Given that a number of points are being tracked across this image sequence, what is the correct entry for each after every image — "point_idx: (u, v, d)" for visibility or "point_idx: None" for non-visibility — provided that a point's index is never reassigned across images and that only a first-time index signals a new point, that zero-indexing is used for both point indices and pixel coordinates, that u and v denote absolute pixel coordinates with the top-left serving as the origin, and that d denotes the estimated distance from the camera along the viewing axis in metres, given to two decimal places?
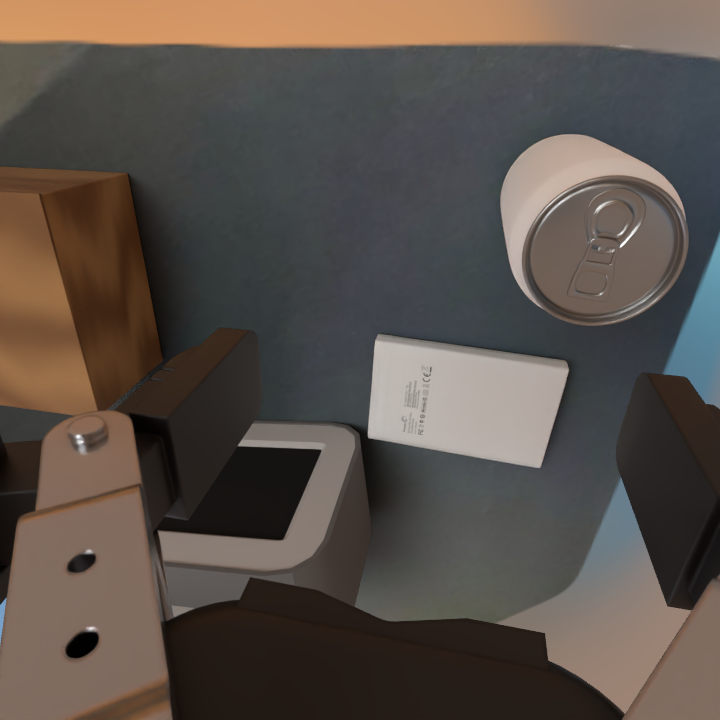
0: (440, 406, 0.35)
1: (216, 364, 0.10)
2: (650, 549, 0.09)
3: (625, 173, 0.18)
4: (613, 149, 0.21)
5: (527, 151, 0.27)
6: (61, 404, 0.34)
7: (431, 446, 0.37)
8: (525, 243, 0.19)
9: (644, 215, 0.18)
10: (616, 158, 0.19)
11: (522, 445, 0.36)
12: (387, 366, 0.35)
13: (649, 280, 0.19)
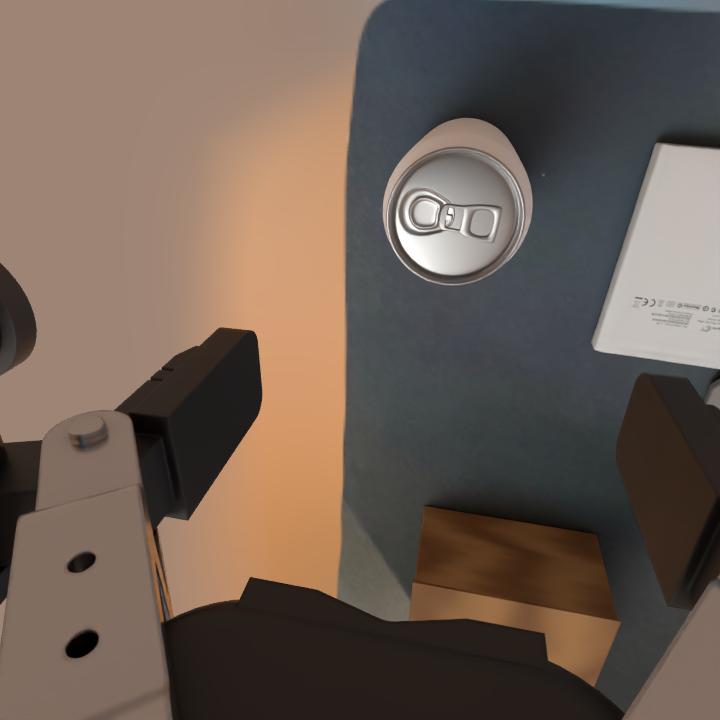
0: (693, 288, 0.30)
1: (216, 364, 0.10)
2: (650, 549, 0.09)
3: None
4: None
5: None
6: (599, 643, 0.36)
7: None
8: (440, 284, 0.22)
9: (420, 187, 0.21)
10: (383, 205, 0.23)
11: None
12: (627, 341, 0.33)
13: (482, 171, 0.20)
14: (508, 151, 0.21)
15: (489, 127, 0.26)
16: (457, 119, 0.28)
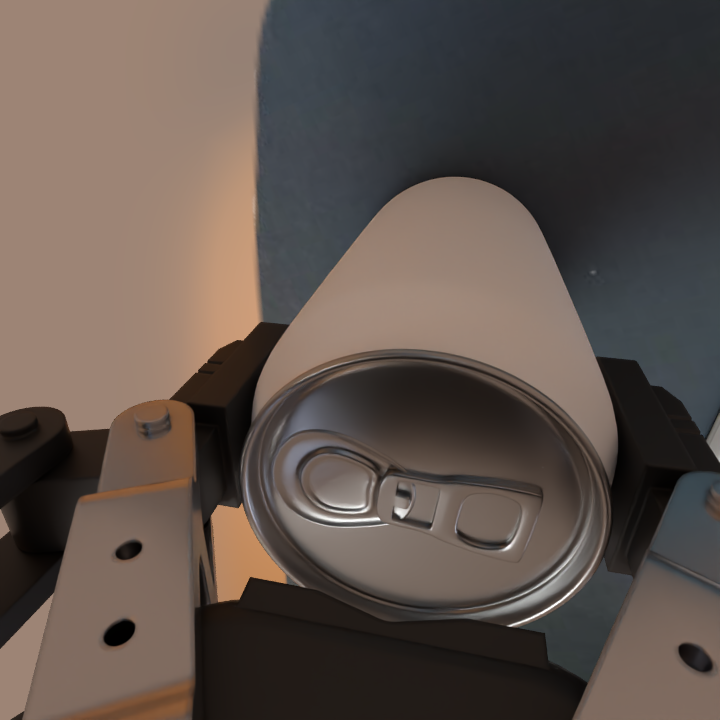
0: None
1: (263, 357, 0.10)
2: None
3: None
4: None
5: None
6: None
7: None
8: None
9: (321, 431, 0.08)
10: None
11: None
12: None
13: (488, 406, 0.07)
14: (559, 335, 0.08)
15: (499, 214, 0.12)
16: (437, 183, 0.15)
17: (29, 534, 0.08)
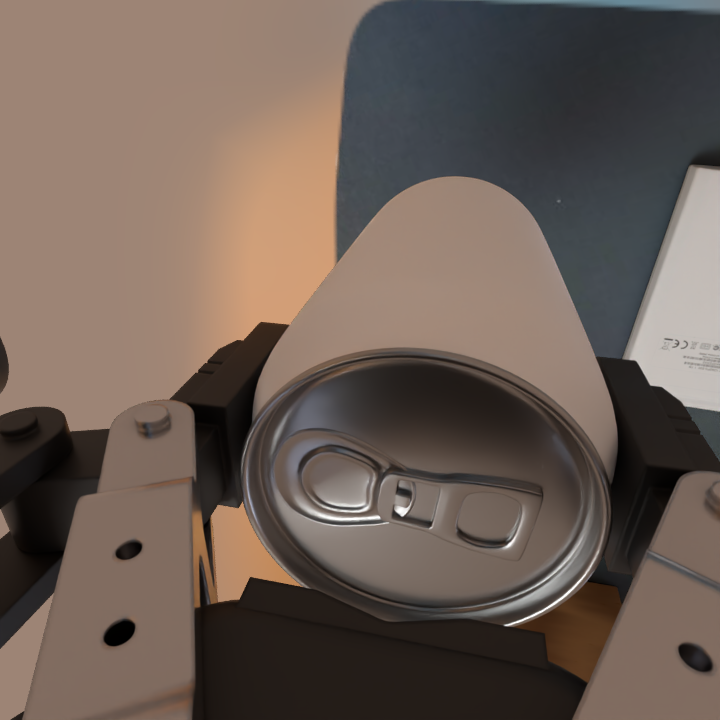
0: None
1: (263, 357, 0.10)
2: None
3: None
4: None
5: None
6: None
7: None
8: None
9: (321, 430, 0.08)
10: None
11: None
12: None
13: (488, 404, 0.07)
14: (559, 333, 0.08)
15: (499, 213, 0.12)
16: (437, 183, 0.15)
17: (29, 534, 0.08)
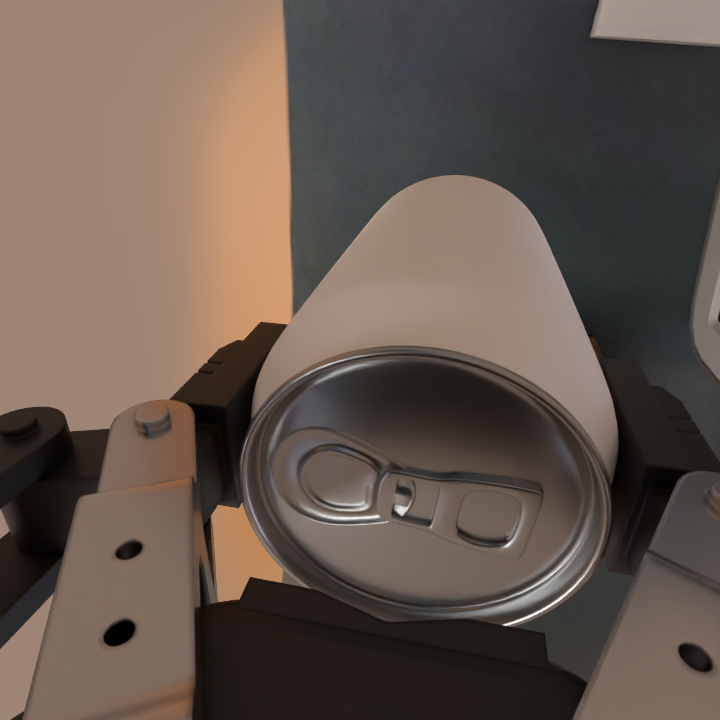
0: None
1: (263, 357, 0.10)
2: None
3: None
4: None
5: None
6: None
7: None
8: None
9: (320, 429, 0.08)
10: None
11: None
12: (636, 15, 0.25)
13: (488, 403, 0.07)
14: (559, 331, 0.08)
15: (499, 212, 0.12)
16: (437, 182, 0.15)
17: (29, 534, 0.08)
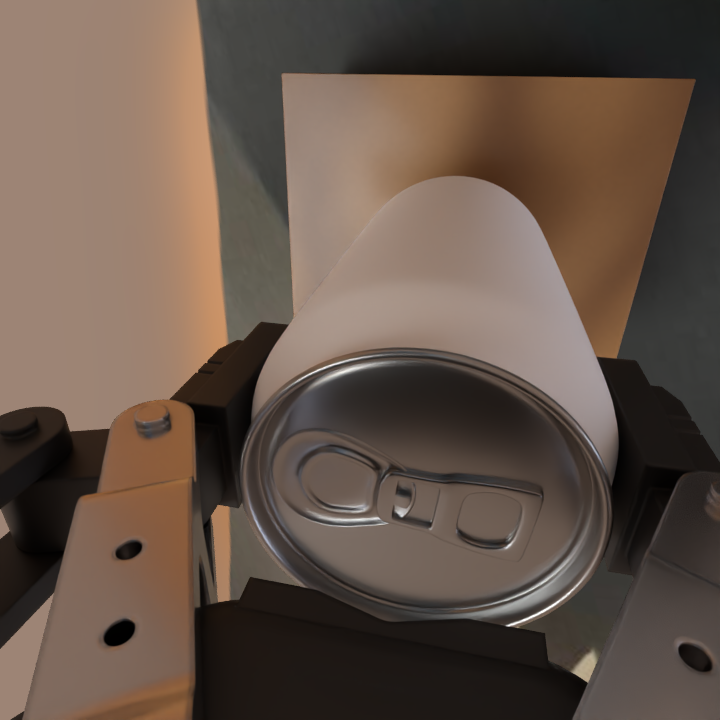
0: None
1: (263, 357, 0.10)
2: None
3: None
4: None
5: None
6: (648, 163, 0.18)
7: None
8: None
9: (320, 430, 0.08)
10: None
11: None
12: None
13: (488, 404, 0.07)
14: (559, 333, 0.08)
15: (499, 213, 0.12)
16: (437, 183, 0.15)
17: (29, 534, 0.08)
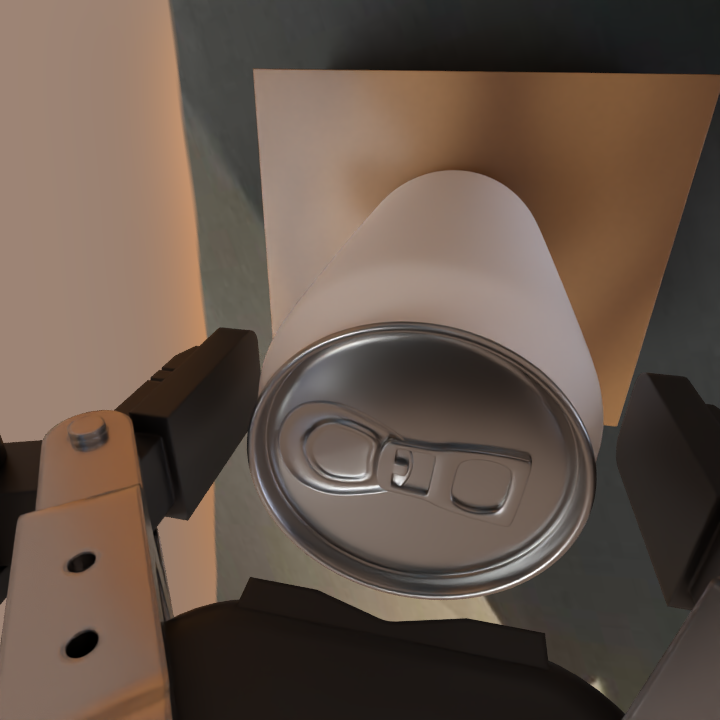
0: None
1: (216, 364, 0.10)
2: (650, 549, 0.09)
3: None
4: None
5: None
6: (668, 171, 0.16)
7: None
8: (386, 592, 0.10)
9: (324, 402, 0.08)
10: None
11: None
12: None
13: (480, 376, 0.08)
14: (547, 311, 0.08)
15: (494, 204, 0.13)
16: (436, 176, 0.16)
17: None
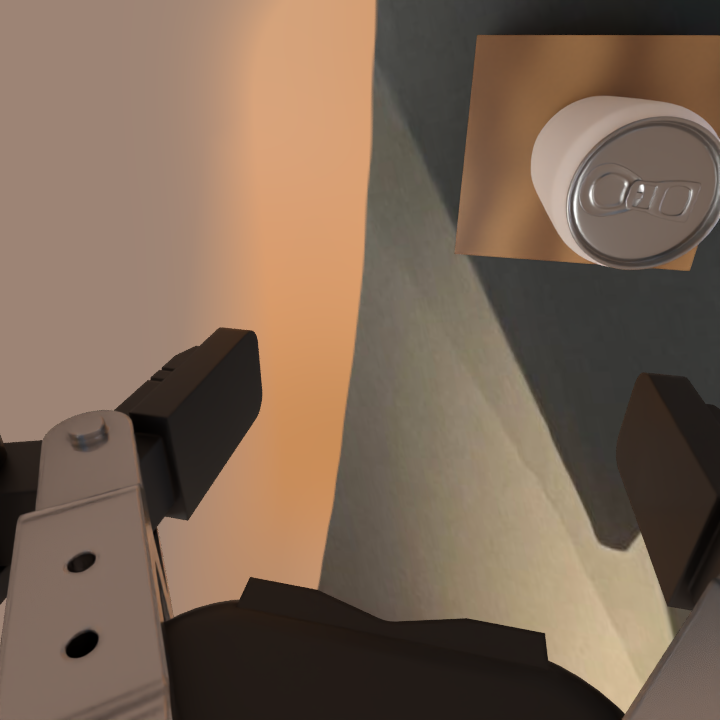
0: None
1: (216, 364, 0.10)
2: (650, 549, 0.09)
3: (567, 184, 0.20)
4: (547, 161, 0.24)
5: None
6: None
7: None
8: (619, 268, 0.21)
9: (609, 163, 0.19)
10: (553, 184, 0.21)
11: None
12: None
13: (684, 143, 0.19)
14: (706, 122, 0.19)
15: None
16: (596, 96, 0.27)
17: None
